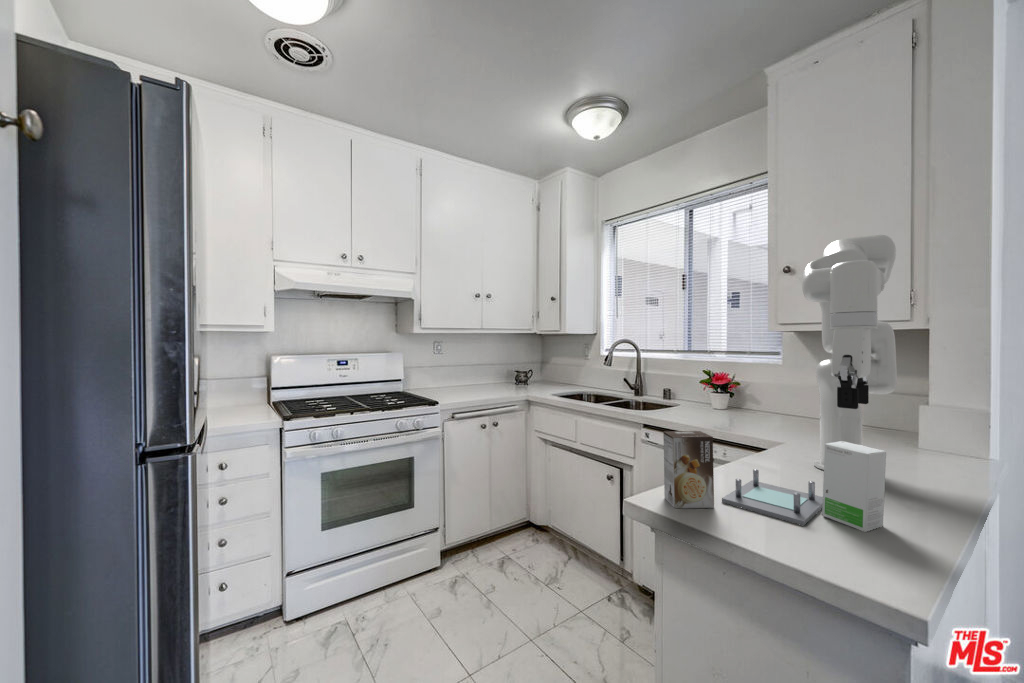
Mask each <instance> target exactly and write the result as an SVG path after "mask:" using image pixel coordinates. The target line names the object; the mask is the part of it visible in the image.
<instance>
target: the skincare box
mask: <svg viewBox="0 0 1024 683" xmlns="http://www.w3.org/2000/svg"><path fill="white" fill-rule="evenodd" d="M886 461H887V451H886V450H883V449H878V448H873V447H870V446H869V447H868V446H866V445H863V444H862V445H857V444H853V443H849V442H844V441H839V442H833V443H827V444H825V454H824V470H823V483H822V486H823V487H822V497H823V505H822V509H821V511H822V512H821V514H822V517H824V518H827V519H830V520H832V521H836V522H838V523H840V524H843V525H846V526H848V527H851V528H854V529H856V530H858V531H861V532H864V533H868V532H871V531H873V529H874V530H876V528H877V529H880V528H882V526H884V517H885V516H884V513H885V512H884V511H885V488H886V486H885V485H886V466H887V465H886V464H887V462H886ZM879 527H880V528H879ZM870 530H871V531H870ZM867 531H868V532H867Z"/></svg>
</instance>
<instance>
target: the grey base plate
mask: <svg viewBox="0 0 1024 683" xmlns="http://www.w3.org/2000/svg"><path fill="white" fill-rule="evenodd" d="M794 493H799V494H800V514H796V513H794ZM722 502H723V504H725V503H727V505H729V504H730V505H729V506H732V505H733V507H736V506H738V507H737V508H739V507H742V508H741V509H743V508H745V509H744V510H746V509H748V510H747V511H750V510H752V511H751V512H753V511H755V512H754V513H757V512H758V513H757V514H760V513H762V514H761V515H764V514H765V515H764V516H767V515H769V516H768V517H771V516H773V517H772V518H774V517H776V518H775V519H777V518H779V519H778V520H781V519H783V520H782V521H784V520H786V521H785V522H788V521H790V522H789V523H791V522H793V523H792V524H795V523H797V524H796V525H798V524H800V526H802V525H803V526H802V527H805V526H806V525H807V524H808V523H809V522H810V521H811V520H812V519H813V518H814V517H815V516H816V515H817V514H818V513H819V512H820V511H821V510H822V509H821V508H822V505H823V496H821V495H816V494H815V501H812V500H809V499H808V493H806V492H804V491H803V492H802V491H798V490H794V489H790V488H786V487H782V486H777V485H773V484H769V483H764V482H761V481H759V487H758V486H757V487H755V486H753V479H752V480H750V481H748V482H746V483H745V484H743V485H741V498H738V497H736V489H735V490H733V491H732V492H730V493H728V494H727V495H725V496H723V497H722V498H721V503H722ZM820 509H821V510H820ZM819 510H820V511H819ZM818 511H819V512H818ZM817 512H818V513H817ZM816 513H817V514H816ZM815 514H816V515H815ZM814 515H815V516H814ZM813 516H814V517H813ZM812 517H813V518H812ZM811 518H812V519H811ZM810 519H811V520H810ZM809 520H810V521H809ZM808 521H809V522H808ZM807 522H808V523H807ZM806 523H807V524H806ZM805 524H806V525H805ZM804 525H805V526H804Z"/></svg>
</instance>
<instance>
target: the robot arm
mask: <svg viewBox="0 0 1024 683" xmlns="http://www.w3.org/2000/svg"><path fill="white" fill-rule="evenodd" d="M896 256H897V249H896V244H895V242H894V240H893V239H892V238H891V237H890V236H888V235H885V234H873V235H866V236H856V237H848V238H841V239H837V240H835V241H832V242H831V243H829V244H828V245H827V246H826V247H825V248H824V251H823V253H822V257H820V258H817V259H815V260H812V261H810V263H808V264H807V265H806V266H805V269H804V270H803V273H802V274H803V275H802V280H801V281H802V283H801V286H802V287H801V288H802V293H803V295H804V298H805V299H806V300H808V301H809V302H811V303H819V306H820V309H821V344H822V347H823V349H824V351H825V352H826V353H828V354H831V358H828V359H824V360H821V361H820V362H819V363H818V364H817V366H816V368H815V374H816V375H815V376H816V382H817V383H816V384H817V387H818V396H819V458H816V459H814V460H812V461H813V462H812V464H813V466H814V467H815V468H816V469H820V470H823V471H824V454H825V444H827V443H833V442H839V441H844V442H849V443H853V444H857V445H863V410H862V407H861V405H868V404H869V403H870V402H869V394H871V395H888V394H892V393H893V392H895V390H896V389H897V388H896V387H897V384H898V371H897V370H898V369H897V368H898V367H897V366H898V365H897V352H896V350H897V349H896V348H897V347H896V337H895V332H894V329H893V327H892V325H891V324H890V323H889V322H886V321H880V320H878V297H879V295H880V294H881V293H882V292H883V291H884V289H885V285H886V284H887V282H888V281H889V279H890V278H891V277H890V276H891V273H892V270H893V268H894V265H895V261H896ZM872 358H873V359H872Z"/></svg>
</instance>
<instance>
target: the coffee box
mask: <svg viewBox="0 0 1024 683" xmlns="http://www.w3.org/2000/svg"><path fill="white" fill-rule="evenodd" d="M662 434H663V482H664V483H663V484H664V487H663V488H664V492H663V494H664V497H663V498H664V499H665V500H666V501H667V502H668V503H669V504H670V505H671V506H672V507H673V509H701V508H702V509H703V508H706V509H708V508H709V509H711V508H712V509H713V508H715V486H714V484H715V481H714V480H715V479H714V476H715V475H714V439H713V436H712V435H709V434H708V433H705V432H703V431H701V430H689V431H688V430H685V431H684V430H681V431H679V430H678V431H677V430H675V431H671V430H670V431H669V430H668V431H667V430H666V431H663V433H662Z"/></svg>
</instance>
